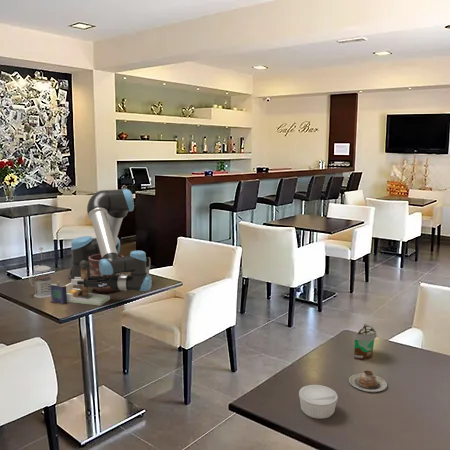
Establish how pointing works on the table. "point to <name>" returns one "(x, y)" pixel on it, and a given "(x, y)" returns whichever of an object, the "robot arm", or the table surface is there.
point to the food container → (364, 343)
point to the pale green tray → (94, 300)
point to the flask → (58, 293)
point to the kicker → (84, 291)
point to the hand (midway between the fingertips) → (73, 280)
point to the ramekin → (318, 401)
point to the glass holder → (147, 265)
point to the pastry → (367, 381)
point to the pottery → (96, 272)
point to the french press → (45, 280)
